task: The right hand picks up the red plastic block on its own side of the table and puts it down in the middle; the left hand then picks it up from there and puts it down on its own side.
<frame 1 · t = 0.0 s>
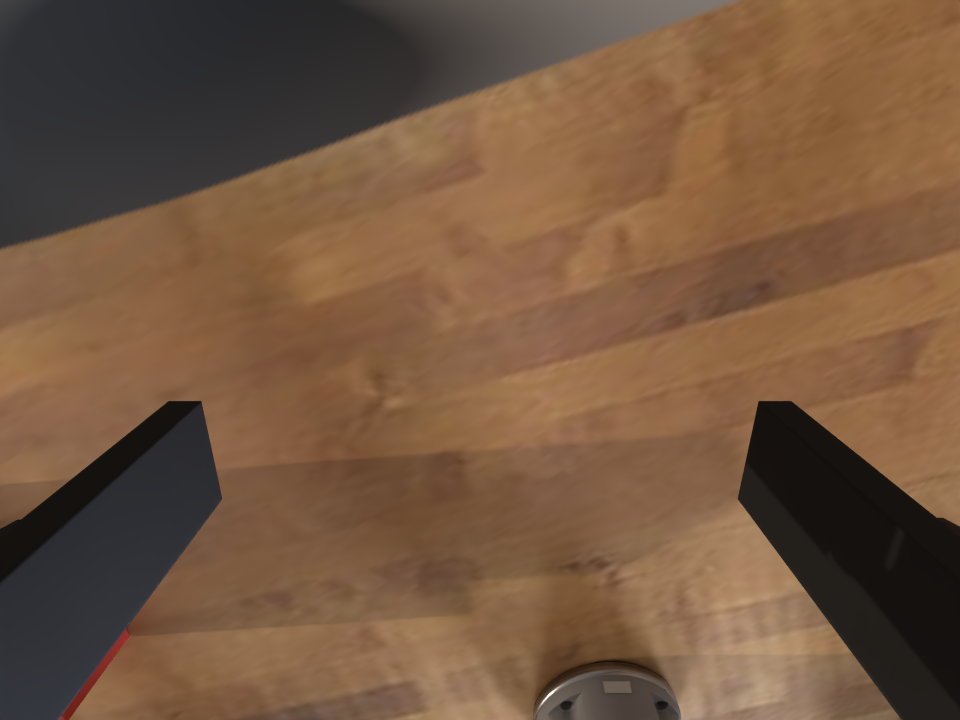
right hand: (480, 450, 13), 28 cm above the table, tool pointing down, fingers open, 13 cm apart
block: (77, 620, 52), on the table
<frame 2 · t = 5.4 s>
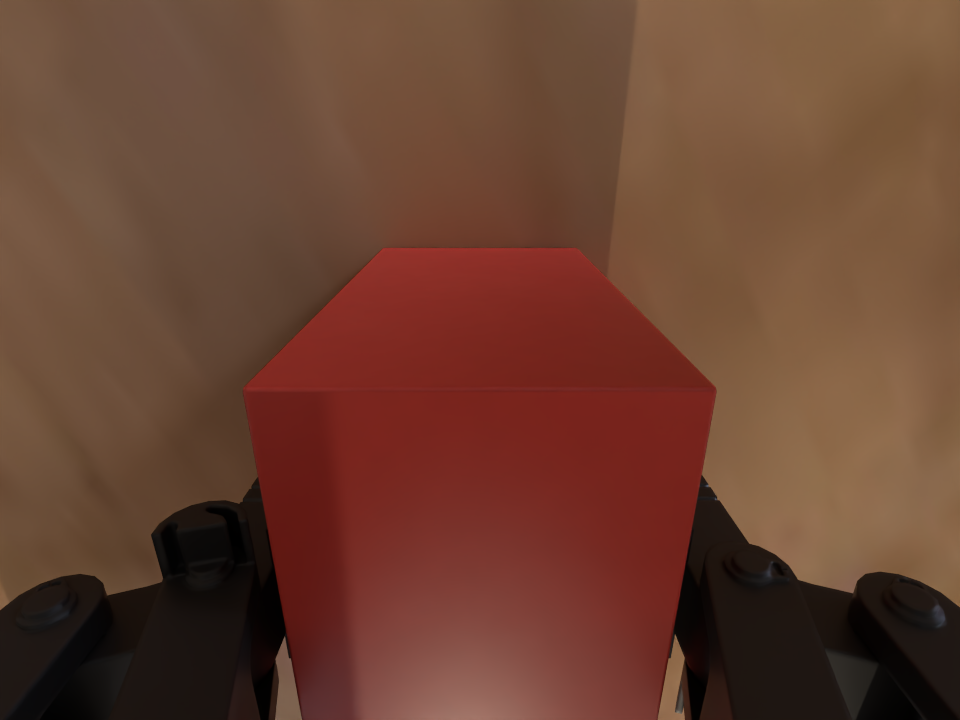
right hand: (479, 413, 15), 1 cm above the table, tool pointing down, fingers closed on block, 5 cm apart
block: (479, 401, 15), on the table, touching right hand
when the right hand's fingers open (2 cm above the table, at t = 19.4 s): block drops 2 cm, on the table.
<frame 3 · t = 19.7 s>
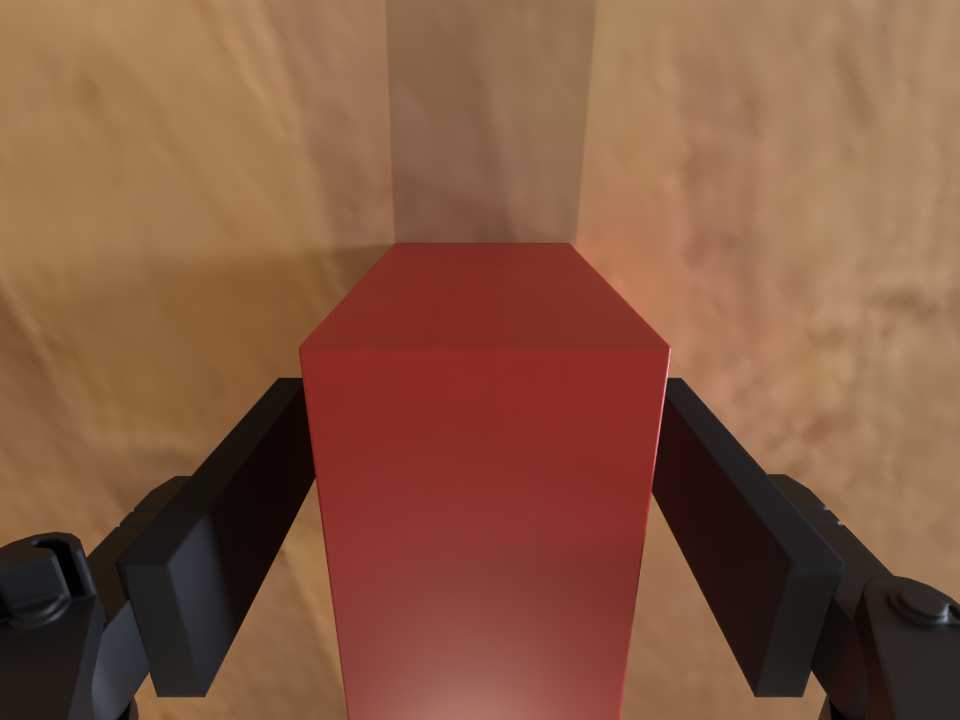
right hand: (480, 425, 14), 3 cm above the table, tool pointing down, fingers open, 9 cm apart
block: (481, 383, 17), on the table
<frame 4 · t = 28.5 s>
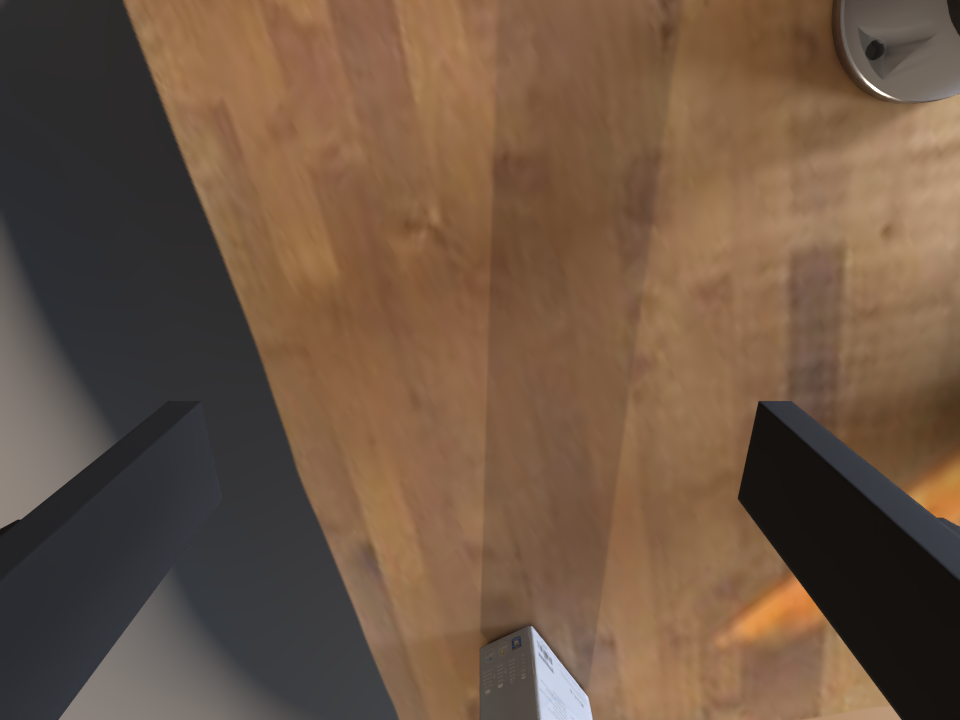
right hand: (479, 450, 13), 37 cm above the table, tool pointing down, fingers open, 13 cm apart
hard drive box: (535, 671, 67), on the table
when the left hand's fingers open (2 cm above the table, at t = 33.9 s): block drops 2 cm, on the table.
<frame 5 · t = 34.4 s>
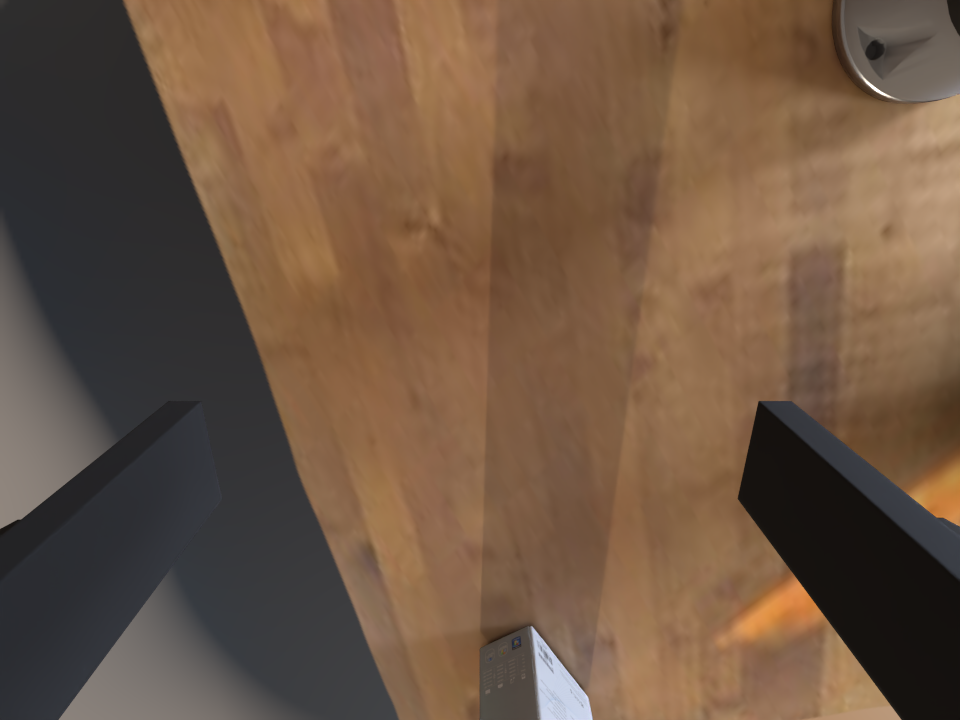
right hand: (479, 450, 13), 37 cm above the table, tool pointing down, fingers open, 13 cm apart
hard drive box: (535, 671, 67), on the table
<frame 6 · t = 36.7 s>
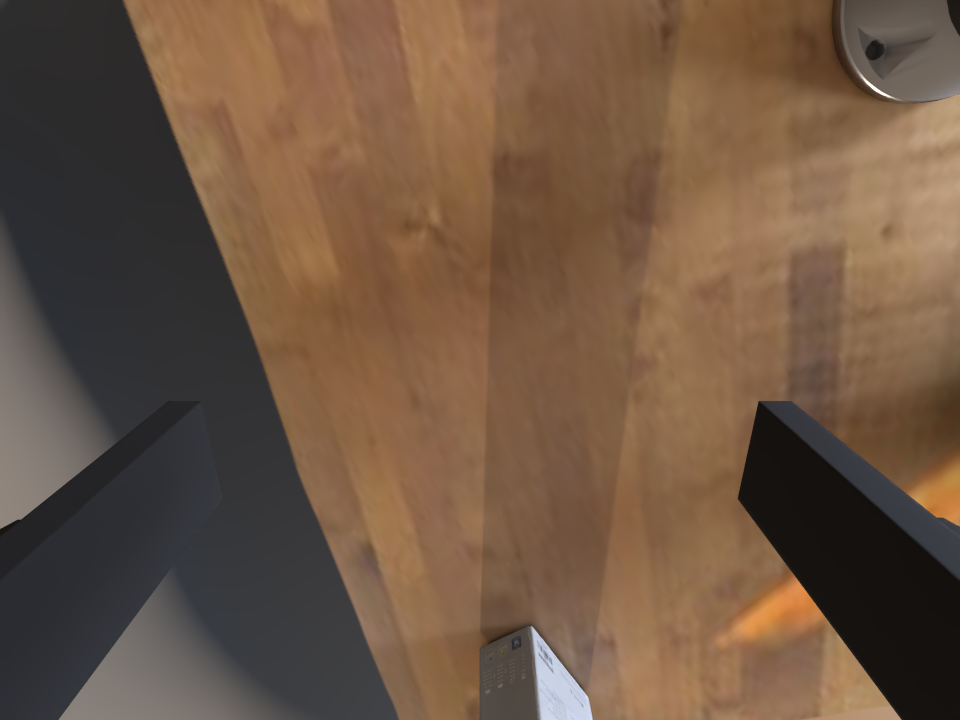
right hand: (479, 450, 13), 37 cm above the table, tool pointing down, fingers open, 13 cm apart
hard drive box: (535, 671, 67), on the table
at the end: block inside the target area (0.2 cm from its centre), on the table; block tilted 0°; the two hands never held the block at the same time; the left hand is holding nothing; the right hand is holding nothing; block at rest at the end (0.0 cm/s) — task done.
